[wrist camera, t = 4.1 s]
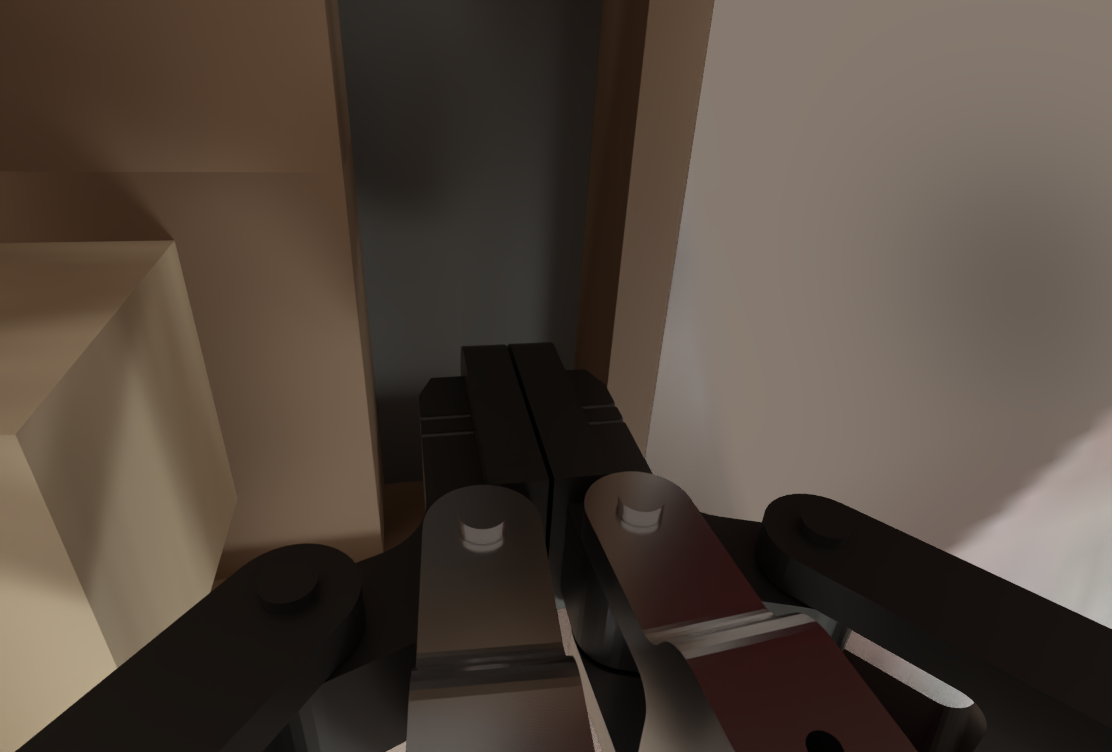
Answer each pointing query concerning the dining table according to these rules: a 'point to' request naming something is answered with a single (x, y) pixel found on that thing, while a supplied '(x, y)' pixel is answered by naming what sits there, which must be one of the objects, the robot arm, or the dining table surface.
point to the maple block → (99, 468)
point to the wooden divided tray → (364, 209)
